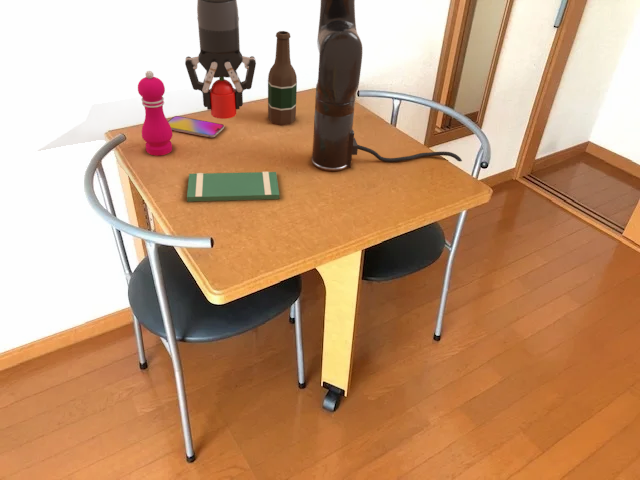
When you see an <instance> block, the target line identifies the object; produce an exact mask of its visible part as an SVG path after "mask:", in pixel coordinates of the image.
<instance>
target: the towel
mask: <svg viewBox="0 0 640 480" xmlns="http://www.w3.org/2000/svg"><path fill="white" fill-rule="evenodd" d="M278 182H279V181H278V176H277V171H255V172H252V171H251V172H250V171H249V172H206V173H205V172H196V173H188V180H187V192H186V201H187V202H188V203H189V202H222V201H224V202H225V201H226V202H227V201H254V200H255V201H257V200H259V201H260V200H280V189H279V183H278Z"/></svg>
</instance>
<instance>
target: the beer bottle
mask: <svg viewBox="0 0 640 480" xmlns="http://www.w3.org/2000/svg"><path fill="white" fill-rule="evenodd" d="M275 37H276V46H275V57H274V58H275V59H274V63H273V65H272V66H271V67H270V69H269V72H268V75H267V118H268V119H269V121H270V122H271V123H272V124H275V125H278V126H287V125H292V123H293V122H295V121H296V115H297V93H298V90H297V89H298V79H297V78H298V77H297V73H296V70H295V69H294V67H293V65H292V62H291V49H290V48H291V47H290V38H291V33H290V32H289V31H286V30H279V31H277V32H276V34H275Z"/></svg>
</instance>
